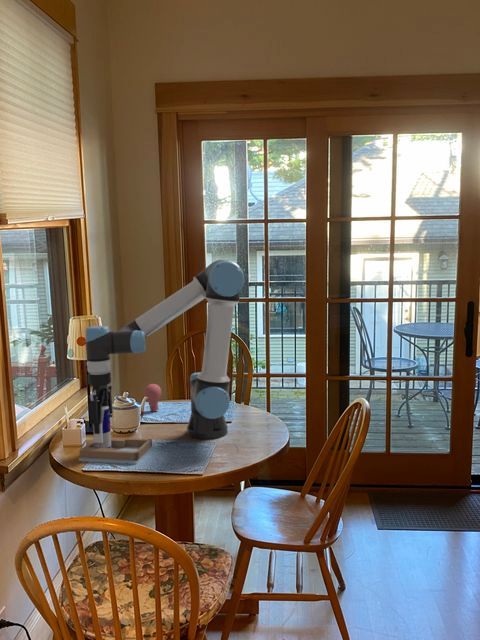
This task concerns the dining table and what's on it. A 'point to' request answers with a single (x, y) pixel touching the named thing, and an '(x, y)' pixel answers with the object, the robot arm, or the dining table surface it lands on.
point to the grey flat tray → (117, 451)
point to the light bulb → (153, 396)
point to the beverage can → (104, 429)
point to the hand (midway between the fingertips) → (102, 439)
